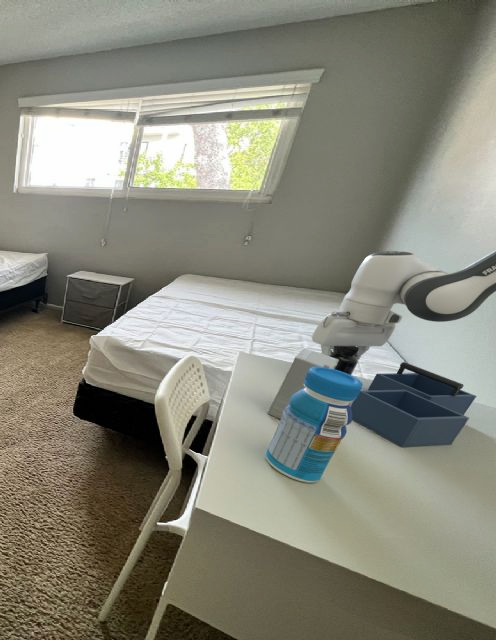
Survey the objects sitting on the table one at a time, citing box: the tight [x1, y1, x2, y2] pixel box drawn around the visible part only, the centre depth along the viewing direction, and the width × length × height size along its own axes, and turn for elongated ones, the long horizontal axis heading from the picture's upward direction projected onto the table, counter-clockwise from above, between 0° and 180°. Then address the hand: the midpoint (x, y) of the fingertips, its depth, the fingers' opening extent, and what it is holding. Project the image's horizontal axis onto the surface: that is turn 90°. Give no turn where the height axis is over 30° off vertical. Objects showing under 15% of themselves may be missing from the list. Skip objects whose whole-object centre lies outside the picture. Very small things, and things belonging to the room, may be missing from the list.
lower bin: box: [350, 389, 470, 448], centre depth 78 cm, size 13×11×7 cm
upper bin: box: [367, 361, 477, 416], centre depth 87 cm, size 13×11×10 cm
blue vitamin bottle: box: [265, 367, 363, 484], centre depth 62 cm, size 8×8×20 cm
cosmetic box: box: [267, 348, 339, 420], centre depth 79 cm, size 8×7×16 cm
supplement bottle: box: [331, 346, 359, 376], centre depth 97 cm, size 7×7×12 cm
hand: (339, 359), depth 96 cm, fingers open, 8 cm apart
